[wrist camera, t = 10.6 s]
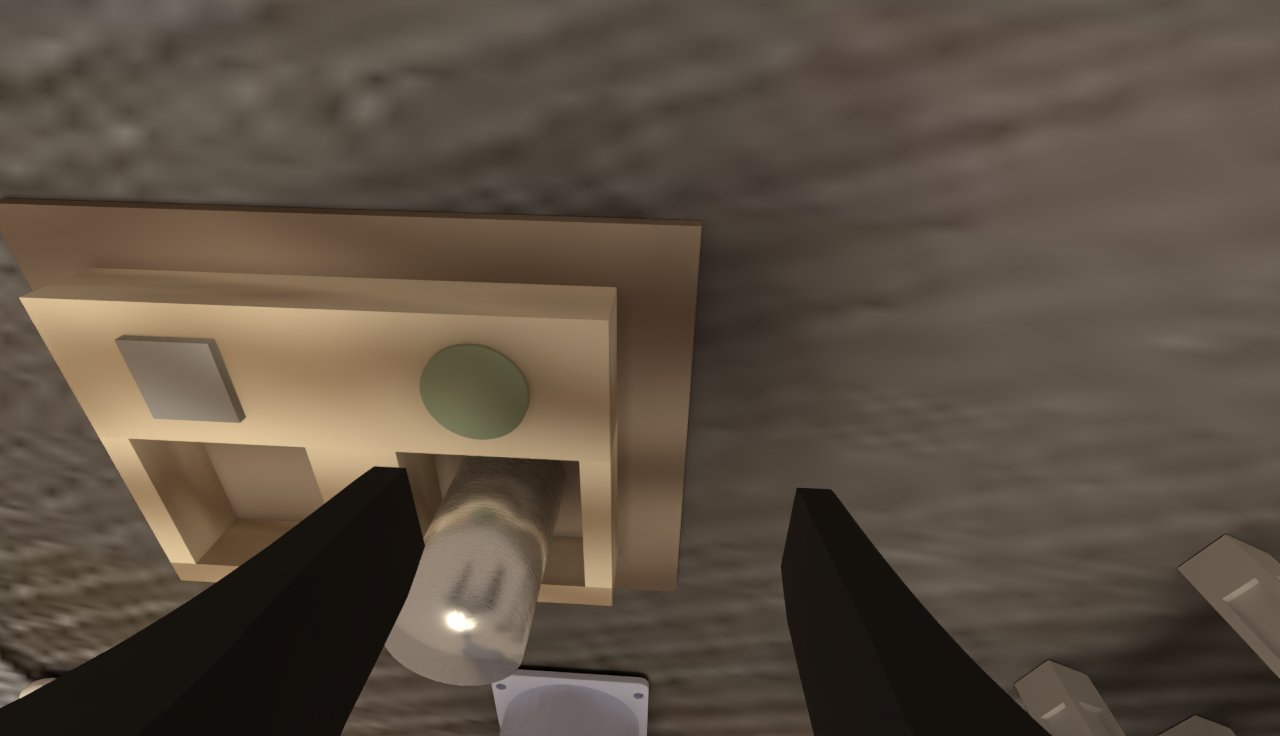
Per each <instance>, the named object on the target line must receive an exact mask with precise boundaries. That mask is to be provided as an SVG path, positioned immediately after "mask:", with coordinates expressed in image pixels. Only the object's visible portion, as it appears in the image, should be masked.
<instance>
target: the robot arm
mask: <svg viewBox="0 0 1280 736" xmlns="http://www.w3.org/2000/svg"><path fill="white" fill-rule="evenodd" d="M424 548H425V543H424V539H423V535H422V531H421V527H420V523H419V519H418V515H417V511H416V507H415V502H414V498H413V494H412V490H411V486H410V482H409V478H408V474H407V470H406V468H399V467H379V466H374V467H372V468H371V469H370V470H368V471H367V472H365V473H364V474H363V475H361V476H360V477H358V478H357V479H356V480H354V481H353V482H352V483H351V484H349V485H348V486H347V487H345V488H344V489H343V490H341V491H340V492H339V493H337V494H336V495H335V496H334V497H332V498H331V499H330V500H328V501H327V502H326V503H324V504H323V505H322V506H321V507H319V508H318V509H317V510H315V511H314V512H313V513H311V514H310V515H309V516H307V517H306V518H305V519H304V520H302V521H301V522H300V523H298V524H297V525H296V526H294V527H293V528H292V529H290V530H289V531H288V532H286V533H285V534H284V535H282V536H281V537H280V538H278V539H277V540H276V541H274V542H273V543H272V544H270V545H269V546H268V547H266V548H265V549H263V550H262V551H260V552H259V553H258V554H256V555H255V556H253V557H252V558H250V559H249V560H248V561H246V562H245V563H243V564H242V565H240V566H239V567H238V568H236V569H235V570H233V571H232V572H230V573H229V574H228V575H226V576H225V577H223V578H222V579H221V580H219V581H218V582H216V583H215V584H213V585H212V586H211V587H209V588H208V589H206V590H205V591H203V592H202V593H200V594H199V595H197V596H196V597H194V598H193V599H191V600H190V601H188V602H186V603H185V604H183V605H182V606H180V607H179V608H177V609H175V610H174V611H172V612H171V613H169V614H168V615H166V616H164V617H163V618H161V619H159V620H158V621H156V622H154V623H153V624H151V625H150V626H148V627H146V628H145V629H143V630H141V631H140V632H138V633H136V634H135V635H133V636H132V637H130V638H128V639H126V640H125V641H123V642H121V643H120V644H118V645H116V646H115V647H113V648H111V649H109V650H107V651H106V652H104V653H102V654H100V655H98V656H97V657H95V658H93V659H91V660H89V661H87V662H86V663H84V664H82V665H80V666H78V667H77V668H75V669H73V670H71V671H69V672H67V673H66V674H64V675H62V676H60V677H58V678H57V679H55V680H53V681H51V682H49V683H47V684H46V685H44V686H42V687H40V688H38V689H36V690H35V691H33V692H31V693H29V694H27V695H25V696H23V697H21V698H20V699H18V700H16V701H14V702H12V703H10V704H8V705H6V706H4V707H2V708H0V736H340V735H341V732H342V730H343V728H344V726H345V724H346V721H347V719H348V717H349V715H350V713H351V711H352V709H353V707H354V705H355V703H356V701H357V699H358V697H359V695H360V693H361V691H362V689H363V687H364V685H365V683H366V681H367V679H368V677H369V675H370V673H371V671H372V669H373V667H374V665H375V663H376V661H377V659H378V657H379V655H380V653H381V651H382V649H383V647H384V645H385V643H386V641H387V639H388V637H389V635H390V633H391V630H392V628H393V626H394V624H395V622H396V620H397V618H398V616H399V614H400V612H401V610H402V608H403V606H404V604H405V601H406V599H407V597H408V594H409V592H410V589H411V586H412V583H413V581H414V578H415V575H416V572H417V569H418V566H419V563H420V560H421V557H422V554H423V551H424ZM781 571H782V580H783V590H784V598H785V606H786V614H787V622H788V626H789V630H790V635H791V639H792V644H793V648H794V652H795V657H796V661H797V665H798V669H799V674H800V678H801V682H802V686H803V691H804V695H805V699H806V703H807V707H808V712H809V716H810V720H811V724H812V729H813V733H814V736H1052V735H1051V734H1050V733H1049V732H1048V731H1047V730H1045V729H1044V728H1043V727H1042V726H1041V725H1040V724H1039V723H1038V722H1037V721H1036V720H1035V719H1033V718H1032V717H1031V716H1030V715H1029V714H1028V713H1027V712H1026V711H1025V710H1024V709H1022V708H1021V707H1020V706H1019V705H1018V704H1017V703H1016V702H1015V701H1014V700H1013V699H1012V698H1011V697H1010V696H1009V695H1008V694H1007V693H1006V692H1005V691H1004V690H1003V689H1002V688H1001V687H1000V686H999V685H998V684H997V683H996V682H995V681H993V680H992V679H991V678H990V677H989V676H988V675H987V674H986V673H985V672H984V671H983V670H982V669H981V668H980V667H979V666H978V665H977V664H976V663H975V662H974V661H973V659H972V658H971V657H970V656H969V655H968V654H967V653H966V652H965V651H964V650H963V649H962V648H961V647H960V646H959V645H958V644H957V643H956V642H955V641H954V639H953V638H952V637H951V636H950V635H949V634H948V633H947V632H946V631H945V629H944V628H943V627H942V626H941V625H940V624H939V623H938V622H937V621H936V620H935V618H934V617H933V616H932V615H931V614H930V613H929V612H928V611H927V609H926V608H925V607H924V606H923V605H922V604H921V603H920V601H919V600H918V599H917V598H916V597H915V596H914V594H913V593H912V592H911V591H910V589H909V588H908V587H907V586H906V585H905V583H904V582H903V581H902V580H901V579H900V577H899V576H898V575H897V574H896V573H895V571H894V570H893V569H892V568H891V567H890V565H889V564H888V563H887V562H886V560H885V559H884V558H883V557H882V555H881V554H880V553H879V551H878V550H877V549H876V548H875V546H874V545H873V544H872V542H871V541H870V540H869V538H868V537H867V536H866V535H865V533H864V532H863V531H862V529H861V528H860V527H859V525H858V524H857V523H856V521H855V520H854V519H853V517H852V516H851V515H850V513H849V512H848V511H847V509H846V508H845V507H844V505H843V504H842V502H841V501H840V500H839V498H838V497H837V496H836V494H835V493H834V492H833V491H832V490H831V489H812V488H797V489H796V494H795V499H794V504H793V509H792V514H791V519H790V524H789V529H788V534H787V539H786V544H785V548H784V553H783V558H782V563H781ZM491 685H492V690H493V695H494V700H495V705H496V710H497V715H498V720H499V725H500V734H499V736H647V719H648V695H649V683H648V681H647V680H646V679H644V678H641V677H629V676H614V675H598V674H583V673H568V672H552V671H537V670H522V669H517V670H516V671H515V672H514V673H513V674H512V675H510V676H509V677H507V678H505V679H503V680H501V681H498V682H495V683H491Z"/></svg>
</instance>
